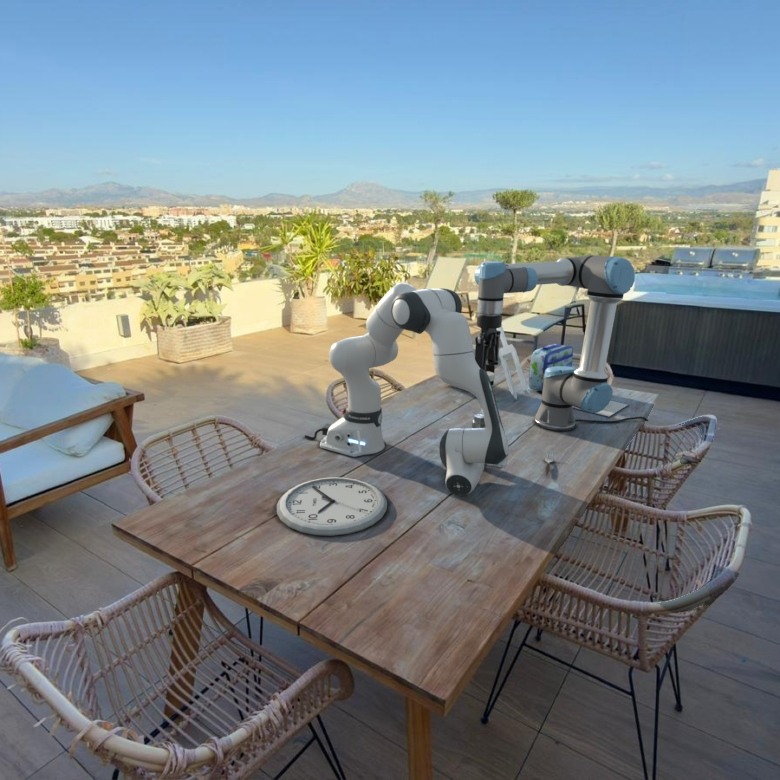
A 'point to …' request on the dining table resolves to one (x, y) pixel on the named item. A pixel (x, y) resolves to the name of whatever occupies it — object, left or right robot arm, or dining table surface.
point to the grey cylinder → (478, 421)
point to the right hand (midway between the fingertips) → (485, 386)
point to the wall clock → (331, 506)
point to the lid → (491, 375)
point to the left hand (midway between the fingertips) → (478, 445)
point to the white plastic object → (505, 355)
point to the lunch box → (548, 362)
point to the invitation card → (611, 408)
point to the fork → (548, 462)
